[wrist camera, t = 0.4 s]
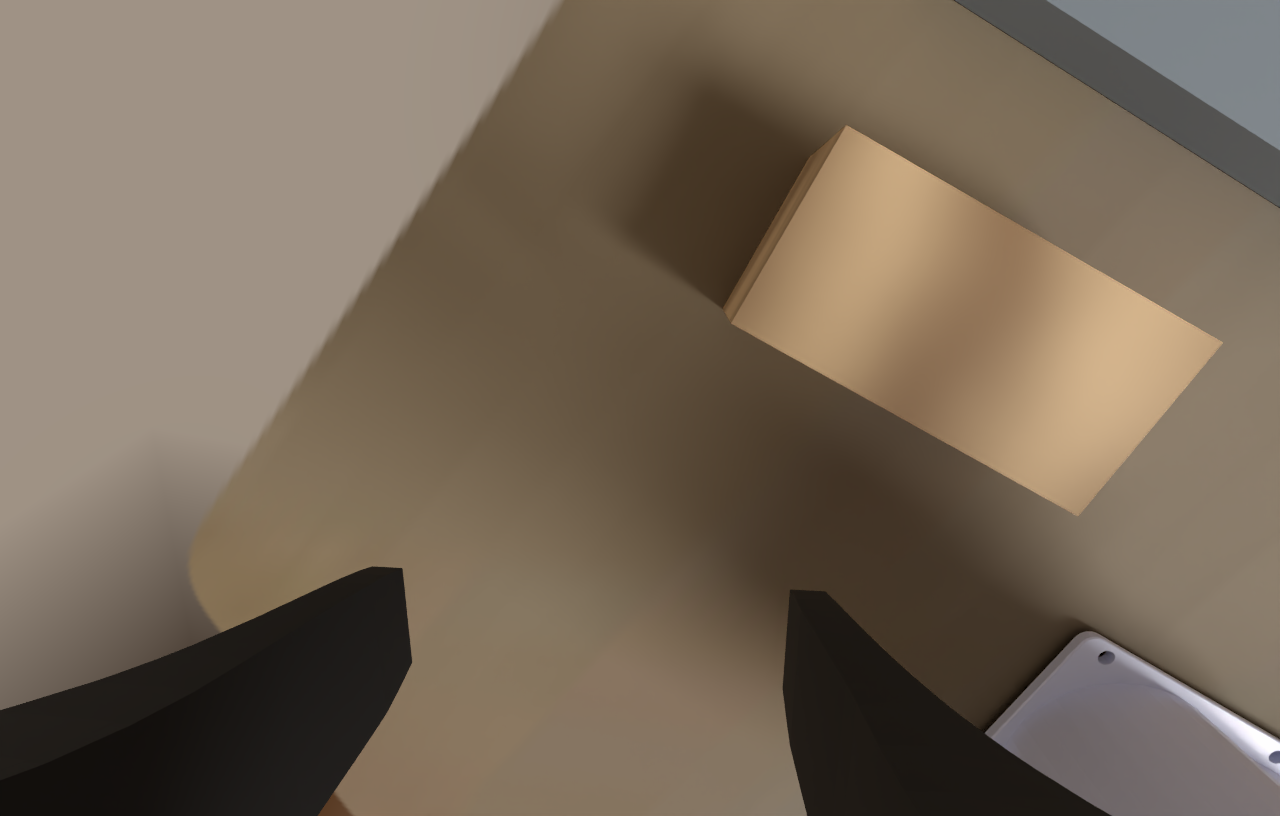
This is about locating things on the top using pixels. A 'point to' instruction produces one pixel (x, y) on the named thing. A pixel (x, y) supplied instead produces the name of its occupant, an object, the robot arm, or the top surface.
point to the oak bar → (963, 321)
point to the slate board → (1171, 69)
